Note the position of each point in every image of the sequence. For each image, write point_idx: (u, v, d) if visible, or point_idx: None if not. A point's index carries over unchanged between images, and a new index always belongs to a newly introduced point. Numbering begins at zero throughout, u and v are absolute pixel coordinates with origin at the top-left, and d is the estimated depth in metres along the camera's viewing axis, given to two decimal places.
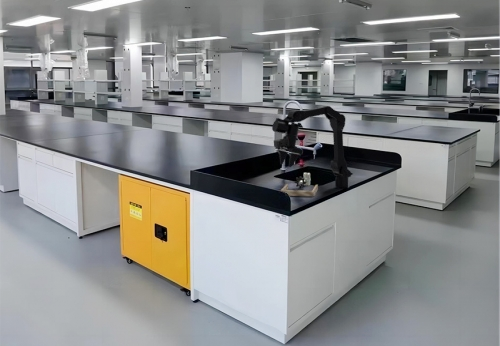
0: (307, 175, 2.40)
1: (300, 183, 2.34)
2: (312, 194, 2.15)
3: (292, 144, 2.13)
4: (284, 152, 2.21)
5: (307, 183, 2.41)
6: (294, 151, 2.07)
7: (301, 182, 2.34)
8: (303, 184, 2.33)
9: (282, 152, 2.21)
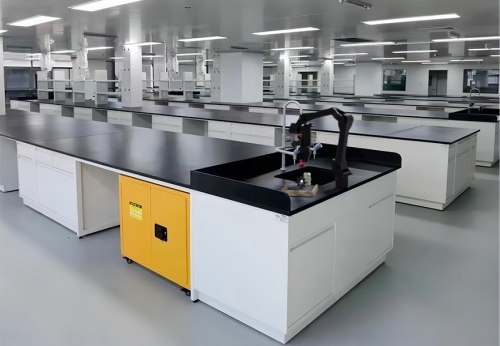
0: (307, 175, 2.41)
1: (301, 183, 2.34)
2: (312, 194, 2.15)
3: (305, 143, 2.41)
4: None
5: (307, 183, 2.42)
6: (300, 150, 2.36)
7: (302, 182, 2.34)
8: (304, 184, 2.34)
9: None
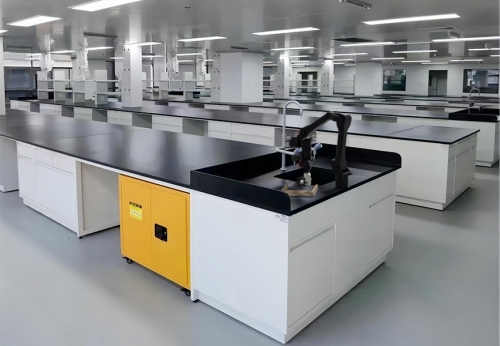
0: (308, 175, 2.41)
1: (301, 183, 2.35)
2: (312, 194, 2.15)
3: (305, 157, 2.43)
4: None
5: (308, 183, 2.42)
6: (300, 165, 2.38)
7: (302, 182, 2.34)
8: (304, 184, 2.34)
9: None
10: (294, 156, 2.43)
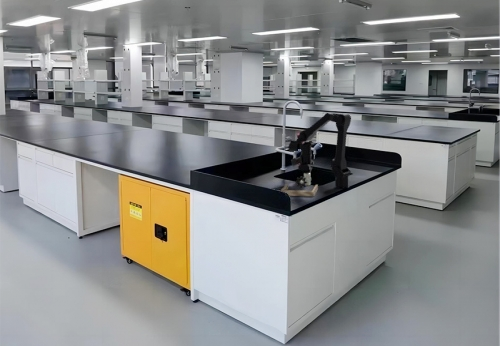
0: (308, 175, 2.41)
1: (301, 183, 2.34)
2: (312, 194, 2.15)
3: (305, 161, 2.42)
4: None
5: (308, 183, 2.42)
6: (300, 168, 2.37)
7: (302, 182, 2.34)
8: (304, 184, 2.34)
9: None
10: (294, 160, 2.43)
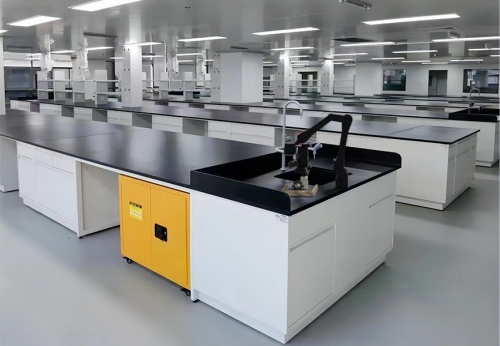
0: (304, 178, 2.31)
1: (297, 187, 2.25)
2: (312, 194, 2.15)
3: (302, 164, 2.33)
4: None
5: (304, 187, 2.32)
6: (296, 172, 2.28)
7: (298, 186, 2.24)
8: (300, 188, 2.24)
9: None
10: (290, 163, 2.33)
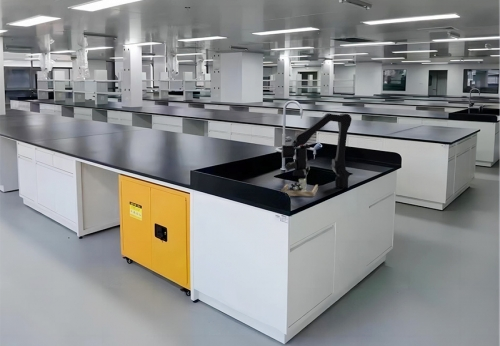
0: (303, 181, 2.25)
1: (295, 189, 2.19)
2: (312, 194, 2.15)
3: (300, 166, 2.27)
4: None
5: (303, 189, 2.26)
6: (294, 174, 2.22)
7: (296, 188, 2.18)
8: (299, 190, 2.18)
9: None
10: (288, 165, 2.27)
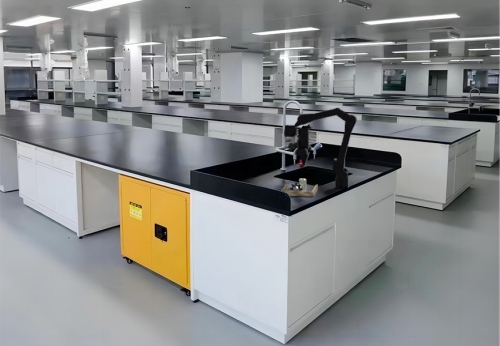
0: (303, 181, 2.25)
1: (296, 189, 2.19)
2: (312, 194, 2.15)
3: (303, 146, 2.32)
4: None
5: (303, 189, 2.26)
6: (297, 153, 2.27)
7: (297, 188, 2.19)
8: None
9: None
10: (291, 144, 2.32)
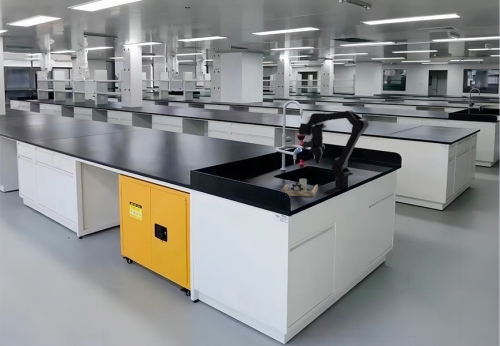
0: (303, 181, 2.25)
1: (296, 189, 2.19)
2: (312, 194, 2.15)
3: (316, 144, 2.35)
4: None
5: (303, 189, 2.26)
6: (311, 151, 2.30)
7: (297, 188, 2.19)
8: (300, 190, 2.18)
9: None
10: (305, 143, 2.35)
